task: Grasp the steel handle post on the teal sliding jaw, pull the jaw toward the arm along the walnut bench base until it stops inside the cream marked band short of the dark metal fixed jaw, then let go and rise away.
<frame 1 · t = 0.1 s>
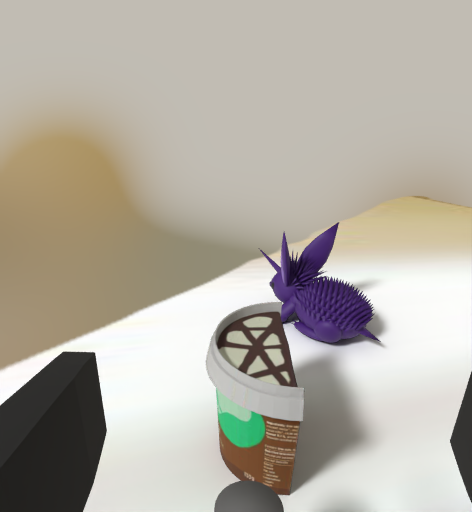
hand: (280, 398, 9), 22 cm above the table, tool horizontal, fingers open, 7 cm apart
food container: (243, 446, 36), on the table
creature: (309, 324, 55), on the table
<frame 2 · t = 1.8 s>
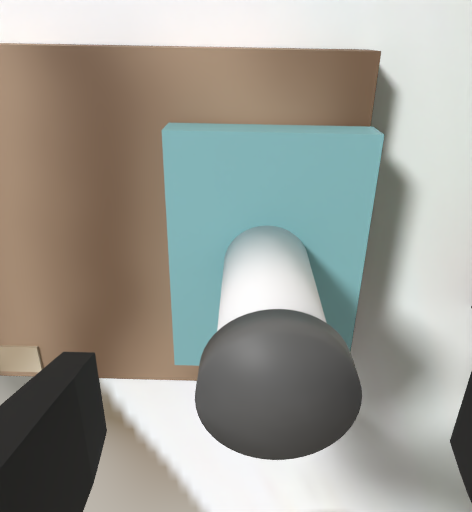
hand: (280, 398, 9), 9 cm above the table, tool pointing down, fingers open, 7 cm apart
sliding jaw: (269, 304, 12), point 5 cm above the table, slide at 0.0 cm
bench base: (101, 222, 17), on the table
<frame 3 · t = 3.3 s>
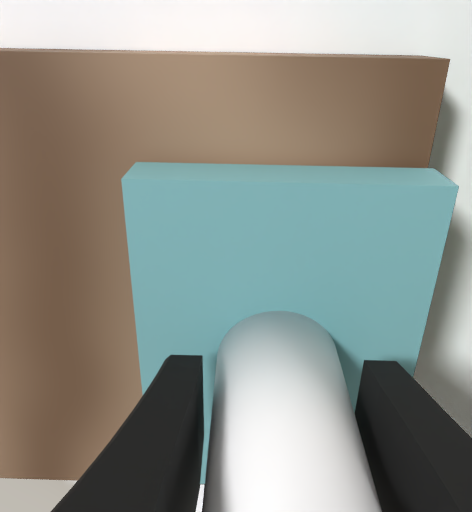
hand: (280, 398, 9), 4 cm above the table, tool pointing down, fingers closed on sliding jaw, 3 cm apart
sliding jaw: (284, 448, 8), point 5 cm above the table, slide at 0.0 cm, touching gripper
bench base: (56, 283, 13), on the table
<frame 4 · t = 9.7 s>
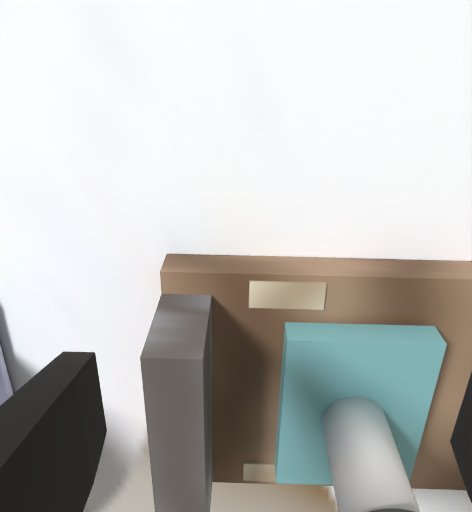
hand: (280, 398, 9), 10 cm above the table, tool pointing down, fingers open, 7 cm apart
sliding jaw: (366, 468, 17), point 5 cm above the table, slide at 7.0 cm
bench base: (361, 371, 22), on the table
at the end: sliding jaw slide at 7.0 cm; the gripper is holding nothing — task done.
